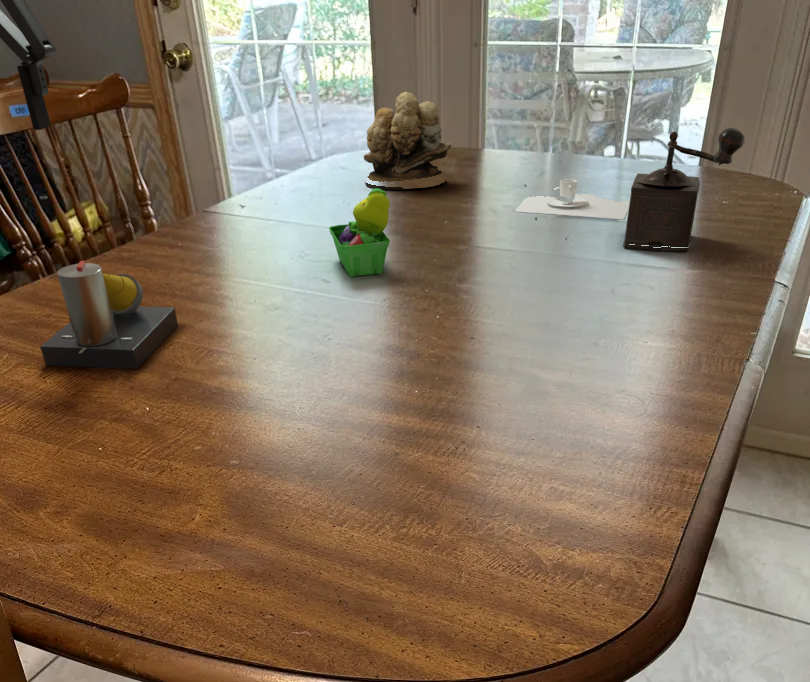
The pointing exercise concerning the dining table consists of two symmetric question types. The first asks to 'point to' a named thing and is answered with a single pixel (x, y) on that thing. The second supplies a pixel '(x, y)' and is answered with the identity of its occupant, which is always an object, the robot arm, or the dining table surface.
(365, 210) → the fruit basket
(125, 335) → the dial base
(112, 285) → the yellow ridged cone
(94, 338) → the shiny metal cylinder
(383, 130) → the owl figurine
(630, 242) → the manual coffee grinder
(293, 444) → the dining table surface
